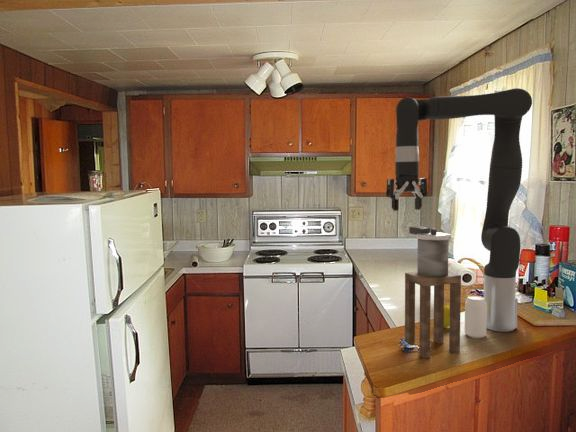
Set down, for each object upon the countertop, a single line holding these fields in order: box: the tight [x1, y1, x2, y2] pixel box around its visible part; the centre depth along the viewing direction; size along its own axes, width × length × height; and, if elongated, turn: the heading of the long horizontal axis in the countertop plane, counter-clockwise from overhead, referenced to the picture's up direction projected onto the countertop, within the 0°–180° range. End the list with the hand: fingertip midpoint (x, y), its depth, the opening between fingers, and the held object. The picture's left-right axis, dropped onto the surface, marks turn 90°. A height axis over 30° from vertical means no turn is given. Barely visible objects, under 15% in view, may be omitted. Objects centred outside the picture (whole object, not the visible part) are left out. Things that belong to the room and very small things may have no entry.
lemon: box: [444, 303, 450, 329], centre depth 146 cm, size 6×6×8 cm
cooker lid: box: [408, 225, 452, 241], centre depth 128 cm, size 9×14×3 cm, turn 20°
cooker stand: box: [404, 239, 462, 359], centre depth 128 cm, size 12×9×32 cm
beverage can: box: [464, 295, 488, 339], centre depth 138 cm, size 6×6×12 cm
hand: (406, 210), depth 149 cm, fingers open, 8 cm apart
